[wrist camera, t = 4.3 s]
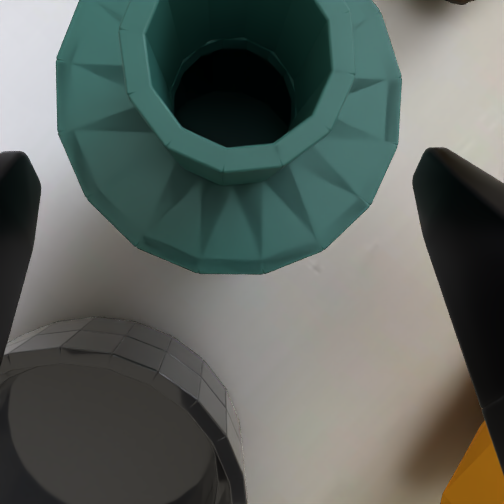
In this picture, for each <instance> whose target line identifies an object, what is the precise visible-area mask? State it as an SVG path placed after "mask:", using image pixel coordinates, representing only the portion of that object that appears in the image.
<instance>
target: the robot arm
mask: <svg viewBox="0 0 504 504" xmlns="http://www.w3.org/2000/svg"><path fill="white" fill-rule="evenodd" d="M412 185H413V190H414V195H415V200H416V205H417V210H418V214H419V219H420V224H421V229H422V233H423V237H424V241H425V244H426V247H427V250H428V253H429V256H430V259H431V262H432V265H433V268H434V271H435V274H436V277H437V280H438V282H439V285H440V288H441V291H442V294H443V297H444V300H445V303H446V306H447V309H448V312H449V315H450V318H451V321H452V324H453V327H454V330H455V333H456V336H457V339H458V342H459V344H460V347H461V350H462V353H463V356H464V359H465V362H466V365H467V368H468V371H469V374H470V377H471V380H472V383H473V386H474V389H475V392H476V395H477V398H478V401H479V404H480V407H481V408H483V409H482V413H483V416H484V419H485V422H486V425H487V428H488V431H489V434H490V437H491V440H492V443H493V446H494V449H495V451H496V454H497V457H498V460H499V463H500V466H501V469H502V472H503V475H504V183H502V182H501V181H499V180H497V179H496V178H494V177H493V176H491V175H489V174H488V173H486V172H484V171H483V170H481V169H480V168H478V167H476V166H475V165H473V164H471V163H470V162H468V161H467V160H465V159H463V158H462V157H460V156H458V155H457V154H455V153H454V152H452V151H450V150H449V149H447V148H444V147H436V148H428V149H426V150H425V151H424V153H423V155H422V157H421V160H420V162H419V164H418V166H417V168H416V171H415V173H414V175H413V180H412ZM40 196H41V184H40V181H39V178H38V176H37V174H36V172H35V170H34V168H33V166H32V164H31V162H30V160H29V158H28V156H27V155H26V154H25V153H24V152H22V151H5V152H2V153H0V367H1V363H2V359H3V356H4V352H5V349H6V345H7V341H8V338H9V334H10V331H11V327H12V323H13V320H14V316H15V312H16V309H17V305H18V302H19V298H20V294H21V291H22V287H23V284H24V280H25V276H26V273H27V269H28V265H29V262H30V258H31V254H32V250H33V245H34V240H35V232H36V225H37V218H38V210H39V203H40Z"/></svg>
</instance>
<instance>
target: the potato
mask: <svg viewBox="0 0 504 504" xmlns="http://www.w3.org/2000/svg"><path fill="white" fill-rule="evenodd" d="M446 1H448V2H450V3H454V4H459V5H464V4H466V3H468V2H470V1H474V0H446Z"/></svg>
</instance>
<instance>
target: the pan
mask: <svg viewBox="0 0 504 504" xmlns="http://www.w3.org/2000/svg"><path fill="white" fill-rule="evenodd" d="M0 504H248V498H247V487H246V476H245V465H244V455H243V446H242V437H241V429H240V422H239V418H238V416H237V413H236V411H235V408H234V406H233V404H232V401H231V399H230V396H229V394H228V392H227V389H226V388H225V386H224V385H223V384H222V382H221V381H220V380H219V379H218V377H217V376H216V375H215V374H214V372H213V371H212V370H211V369H210V367H209V366H208V365H207V363H206V362H205V361H204V360H202V358H201V357H200V356H198V355H197V354H196V353H194V352H193V351H192V350H190V349H189V348H188V347H186V346H185V345H184V344H182V343H181V342H179V341H178V340H177V339H175V338H174V337H172V336H171V335H168V334H166V333H163V332H161V331H158V330H156V329H153V328H151V327H148V326H146V325H143V324H141V323H138V322H135V321H127V320H119V319H112V318H104V317H90V318H81V319H73V320H65V321H58V322H54V323H51V324H49V325H46V326H44V327H41V328H39V329H36V330H33V331H31V332H28V333H26V334H23V335H21V336H19V337H17V338H15V339H14V340H12V341H10V342H9V343H7V345H6V349H5V352H4V356H3V359H2V363H1V367H0Z"/></svg>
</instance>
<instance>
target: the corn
mask: <svg viewBox="0 0 504 504" xmlns="http://www.w3.org/2000/svg"><path fill="white" fill-rule="evenodd" d="M440 504H504V475H503V472H502V469H501V466H500V463H499V460H498V457H497V454H496V451H495V449H494V446H493V443H492V440H491V437H490V434H489V431H488V428H487V425H486V422H485V420H484V421H483V423H482V424H481V426H480V428H479V429H478V431H477V433H476V435H475V437H474V438H473V440H472V442H471V444H470V445H469V447H468V449H467V451H466V453H465V454H464V456H463V458H462V460H461V462H460V463H459V465H458V467H457V469H456V471H455V472H454V474H453V476H452V478H451V480H450V481H449V483H448V485H447V487H446V489H445V490H444V492H443V494H442V499H441V503H440Z"/></svg>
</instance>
